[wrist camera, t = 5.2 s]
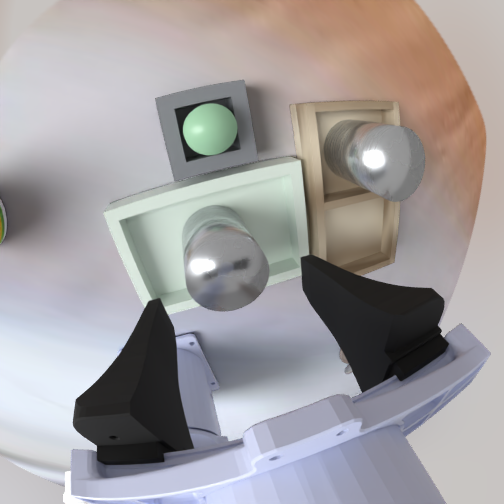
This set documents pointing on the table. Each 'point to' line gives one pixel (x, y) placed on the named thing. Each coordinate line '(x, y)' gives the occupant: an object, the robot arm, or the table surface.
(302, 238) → the pale green tray
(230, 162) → the frame
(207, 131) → the button
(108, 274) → the table surface
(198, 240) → the billet
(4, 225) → the supplement bottle
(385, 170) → the cylinder
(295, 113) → the divided tray
